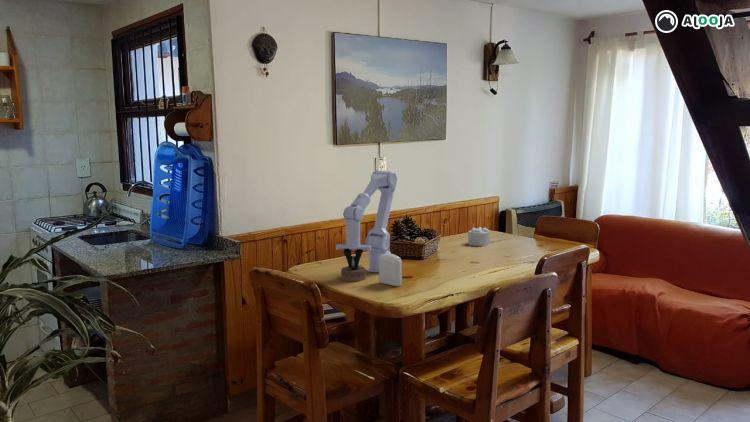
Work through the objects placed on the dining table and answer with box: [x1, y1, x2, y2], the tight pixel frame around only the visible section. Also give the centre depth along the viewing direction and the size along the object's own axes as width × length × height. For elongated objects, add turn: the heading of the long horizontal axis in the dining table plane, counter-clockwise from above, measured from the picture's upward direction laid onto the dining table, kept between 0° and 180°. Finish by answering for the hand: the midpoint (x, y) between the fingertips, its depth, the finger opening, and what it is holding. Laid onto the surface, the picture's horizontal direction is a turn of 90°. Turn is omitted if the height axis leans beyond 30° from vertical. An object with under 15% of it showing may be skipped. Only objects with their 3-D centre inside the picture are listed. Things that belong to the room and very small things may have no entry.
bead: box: [340, 265, 367, 282], centre depth 243 cm, size 10×10×4 cm
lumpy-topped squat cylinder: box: [467, 226, 491, 247], centre depth 315 cm, size 10×13×9 cm
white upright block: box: [378, 253, 403, 287], centre depth 234 cm, size 10×4×12 cm, turn 47°
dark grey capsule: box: [351, 255, 356, 270], centre depth 243 cm, size 2×2×7 cm
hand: (353, 267), depth 243 cm, fingers closed on dark grey capsule, 2 cm apart
